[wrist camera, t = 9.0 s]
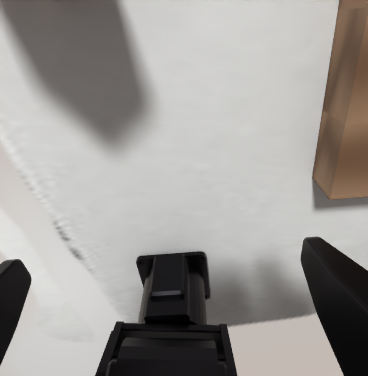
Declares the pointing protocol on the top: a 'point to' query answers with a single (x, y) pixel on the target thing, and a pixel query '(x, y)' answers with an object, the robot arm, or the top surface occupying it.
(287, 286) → the top surface
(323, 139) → the socket block
